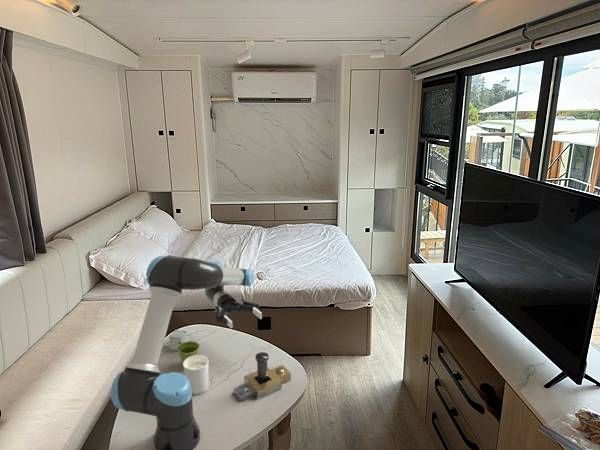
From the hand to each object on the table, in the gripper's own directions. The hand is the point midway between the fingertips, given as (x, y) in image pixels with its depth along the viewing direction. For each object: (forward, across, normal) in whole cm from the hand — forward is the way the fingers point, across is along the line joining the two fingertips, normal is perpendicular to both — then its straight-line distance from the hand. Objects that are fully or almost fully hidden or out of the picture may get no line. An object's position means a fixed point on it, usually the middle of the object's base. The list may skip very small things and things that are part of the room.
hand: (246, 320), depth 172 cm
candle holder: (-2, +22, -24) cm, 33 cm away
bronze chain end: (+12, -3, -24) cm, 27 cm away
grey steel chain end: (+12, +3, -24) cm, 27 cm away
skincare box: (-35, +18, -24) cm, 46 cm away
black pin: (+12, 0, -24) cm, 27 cm away
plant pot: (-19, +19, -24) cm, 36 cm away
